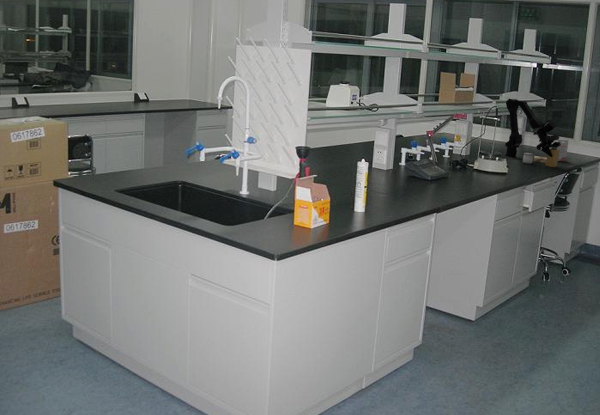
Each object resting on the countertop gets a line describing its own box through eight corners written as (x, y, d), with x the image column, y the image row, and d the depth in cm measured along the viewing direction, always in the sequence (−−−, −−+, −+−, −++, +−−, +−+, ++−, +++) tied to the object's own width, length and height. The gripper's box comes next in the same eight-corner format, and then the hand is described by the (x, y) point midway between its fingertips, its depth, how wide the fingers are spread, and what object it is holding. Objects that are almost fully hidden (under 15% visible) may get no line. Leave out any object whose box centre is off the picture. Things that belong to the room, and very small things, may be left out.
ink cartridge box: (560, 159, 486) (564, 139, 482) (565, 161, 481) (569, 140, 477) (550, 159, 483) (554, 138, 480) (554, 160, 479) (558, 139, 475)
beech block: (533, 162, 468) (533, 157, 467) (533, 160, 476) (534, 155, 475) (547, 164, 465) (547, 159, 464) (547, 162, 473) (548, 157, 472)
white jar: (522, 162, 459) (523, 153, 458) (522, 161, 465) (524, 152, 463) (531, 163, 457) (533, 154, 456) (532, 162, 463) (533, 153, 461)
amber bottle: (545, 165, 456) (548, 146, 453) (550, 165, 459) (553, 146, 455) (551, 167, 452) (555, 148, 449) (556, 166, 455) (560, 148, 451)
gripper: (543, 129, 447) (554, 150, 441) (561, 129, 458) (572, 149, 452) (531, 139, 455) (542, 159, 449) (548, 139, 466) (559, 158, 460)
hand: (554, 156), depth 452 cm, fingers closed on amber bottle, 5 cm apart
